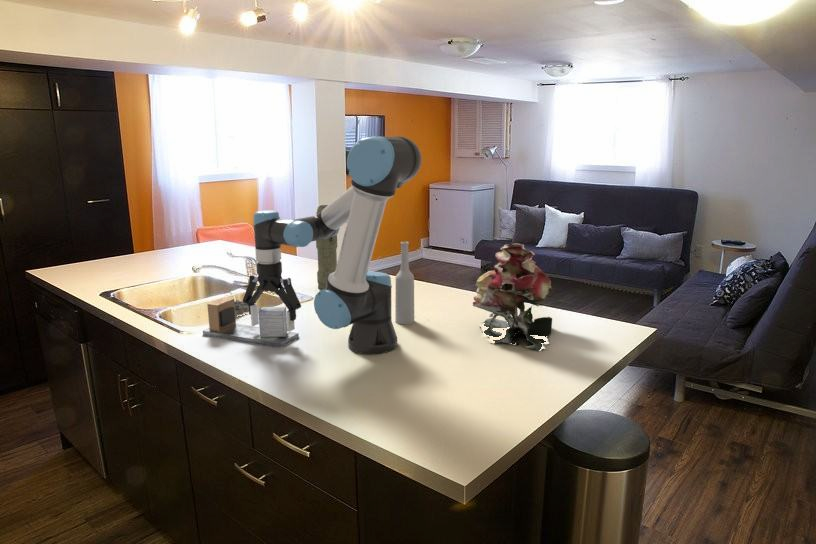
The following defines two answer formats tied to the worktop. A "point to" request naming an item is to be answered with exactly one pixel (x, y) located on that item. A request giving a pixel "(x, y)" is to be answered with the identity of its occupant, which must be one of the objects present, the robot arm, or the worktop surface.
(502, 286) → the rose bouquet
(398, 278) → the bottle
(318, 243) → the thermos
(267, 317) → the medicine box
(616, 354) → the worktop surface
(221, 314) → the rail
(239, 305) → the egg carton
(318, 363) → the worktop surface
